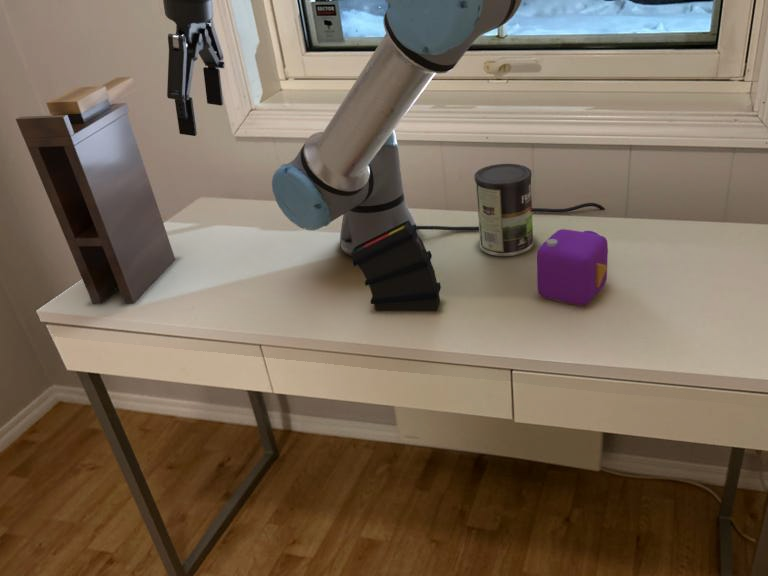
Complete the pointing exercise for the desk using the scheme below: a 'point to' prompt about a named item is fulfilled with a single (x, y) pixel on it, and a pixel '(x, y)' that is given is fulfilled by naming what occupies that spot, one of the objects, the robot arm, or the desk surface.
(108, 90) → the tan block
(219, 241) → the desk surface
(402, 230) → the magazine
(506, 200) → the coffee can
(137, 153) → the shelf
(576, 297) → the toy camera
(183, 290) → the desk surface
